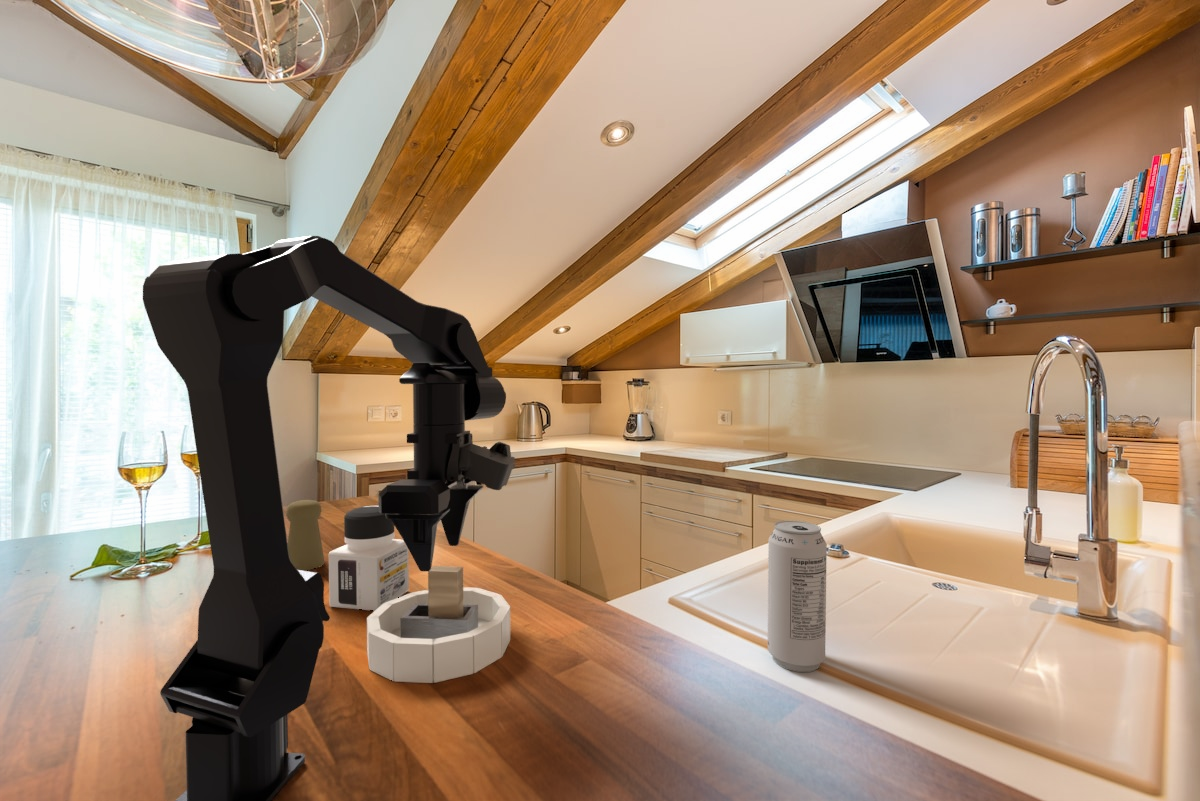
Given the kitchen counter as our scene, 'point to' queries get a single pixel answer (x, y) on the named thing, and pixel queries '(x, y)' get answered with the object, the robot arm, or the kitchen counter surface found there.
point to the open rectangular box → (436, 623)
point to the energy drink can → (797, 595)
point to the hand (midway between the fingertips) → (440, 557)
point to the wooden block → (445, 591)
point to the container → (368, 562)
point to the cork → (305, 534)
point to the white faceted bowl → (437, 640)
